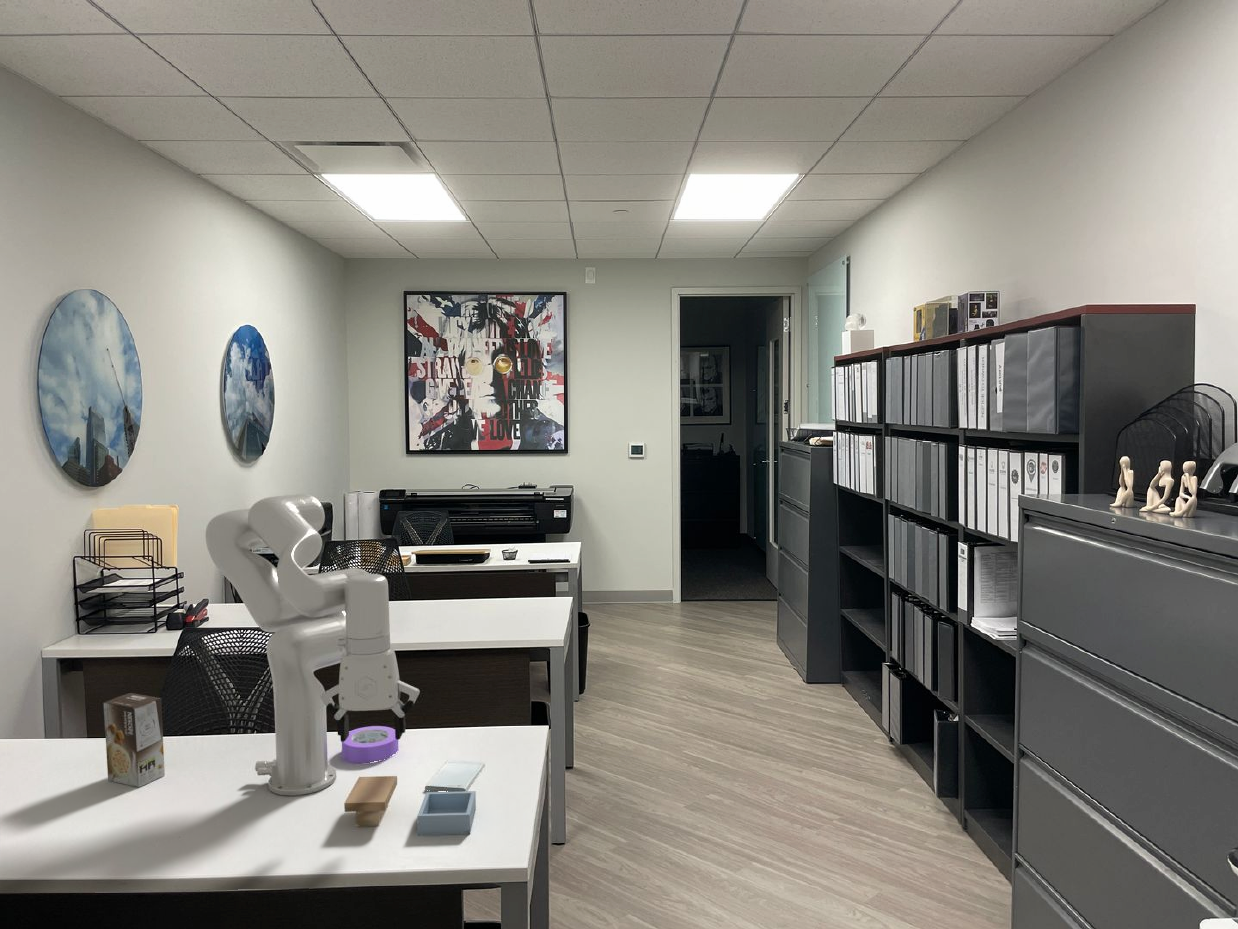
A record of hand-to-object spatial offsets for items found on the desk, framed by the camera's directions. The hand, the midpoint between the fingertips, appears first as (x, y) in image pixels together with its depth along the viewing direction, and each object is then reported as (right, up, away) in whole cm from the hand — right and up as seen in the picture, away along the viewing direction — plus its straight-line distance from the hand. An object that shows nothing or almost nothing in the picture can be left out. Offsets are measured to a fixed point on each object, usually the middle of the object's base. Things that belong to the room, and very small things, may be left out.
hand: (372, 737), depth 155 cm
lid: (0, -11, +1) cm, 11 cm away
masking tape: (-9, -13, +30) cm, 34 cm away
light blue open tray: (+14, -15, -1) cm, 20 cm away
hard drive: (+12, -14, +17) cm, 25 cm away
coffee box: (-52, -14, +18) cm, 57 cm away
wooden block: (0, -15, +1) cm, 15 cm away
